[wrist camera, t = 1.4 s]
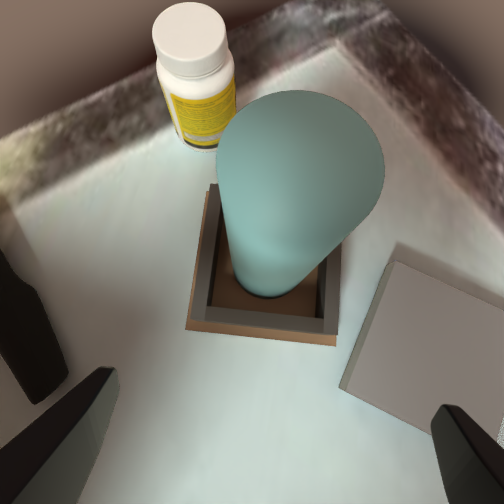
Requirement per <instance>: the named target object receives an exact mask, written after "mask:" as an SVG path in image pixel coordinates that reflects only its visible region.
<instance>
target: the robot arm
mask: <svg viewBox="0 0 504 504" xmlns="http://www.w3.org/2000/svg"><path fill="white" fill-rule="evenodd" d="M118 394H119V382H118V376H117V371H116V369H115V368H114V367H106V366H101V367H99V368H97V369H96V370H95V371H94V372H92V373H91V374H90V375H89V376H88V377H86V378H85V379H84V380H83V381H82V382H80V383H79V384H78V385H77V386H76V387H74V388H73V389H72V390H71V391H70V392H68V393H67V394H66V395H65V396H64V397H62V398H61V399H60V400H59V401H58V402H56V403H55V404H54V405H53V406H52V407H50V408H49V409H48V410H47V411H46V412H44V413H43V414H42V415H41V416H40V417H39V418H37V419H36V420H35V421H34V422H33V423H31V424H30V425H29V426H28V427H27V428H25V429H24V430H23V431H22V432H21V433H19V434H18V435H17V436H16V437H15V438H13V439H12V440H11V441H10V442H9V443H7V444H6V445H5V446H4V447H3V448H1V449H0V504H76V503H77V501H78V499H79V497H80V494H81V492H82V490H83V488H84V485H85V483H86V481H87V479H88V477H89V474H90V472H91V470H92V468H93V465H94V463H95V461H96V458H97V456H98V454H99V451H100V448H101V445H102V442H103V439H104V436H105V433H106V430H107V427H108V424H109V421H110V418H111V415H112V412H113V409H114V406H115V403H116V400H117V397H118ZM430 429H431V433H432V438H433V442H434V446H435V451H436V455H437V459H438V464H439V468H440V472H441V477H442V481H443V485H444V489H445V492H446V495H447V499H448V502H449V504H504V449H503V448H502V447H501V446H500V445H499V444H498V443H497V442H496V441H495V440H494V439H493V438H492V437H491V436H490V435H489V434H488V433H487V432H486V431H485V430H484V429H483V428H482V427H481V426H480V425H478V424H477V423H476V422H475V421H474V420H473V419H472V418H471V417H470V416H469V415H468V414H467V413H466V412H465V411H464V410H463V409H462V408H461V407H459V406H457V405H452V404H442V405H441V406H440V407H439V409H438V410H437V412H436V413H435V415H434V417H433V418H432V420H431V423H430Z"/></svg>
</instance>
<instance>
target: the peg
mask: <svg viewBox="0 0 504 504" xmlns="http://www.w3.org/2000/svg"><path fill="white" fill-rule="evenodd" d="M216 171H217V178H218V184H219V190H220V196H221V202H222V208H223V214H224V220H225V226H226V232H227V237H228V243H229V249H230V255H231V261H232V267H233V272H234V276H235V278H236V280H237V282H238V284H239V285H240V286H241V288H242V289H243V290H244V291H246V292H247V293H248V294H250V295H252V296H254V297H256V298H260V299H277V298H280V297H282V296H285V295H286V294H288V293H289V292H291V291H292V290H293V289H294V288H295V287H296V286H297V285H298V284H299V283H300V282H301V281H302V280H303V279H304V278H305V277H306V276H307V275H308V274H309V273H310V272H311V271H312V270H313V269H314V268H315V267H316V266H317V265H318V264H319V263H320V262H321V261H322V260H323V259H324V258H325V257H326V256H327V255H328V254H329V253H330V252H331V251H332V250H333V249H334V248H335V247H336V246H337V245H339V244H340V243H341V242H342V241H343V240H344V239H345V238H346V237H347V236H348V235H349V234H350V233H351V232H352V231H353V230H354V229H355V228H356V227H357V226H358V225H359V224H360V223H361V222H362V221H363V220H364V219H365V218H366V217H367V216H368V215H369V213H370V212H371V210H372V209H373V208H374V206H375V205H376V203H377V201H378V199H379V197H380V194H381V191H382V188H383V183H384V177H385V165H384V157H383V153H382V150H381V146H380V144H379V142H378V139H377V137H376V135H375V134H374V132H373V130H372V129H371V128H370V126H369V125H368V124H367V122H366V121H365V120H364V119H363V118H362V117H361V116H360V115H359V114H358V113H357V112H355V111H354V110H353V109H352V108H350V107H349V106H347V105H346V104H344V103H342V102H341V101H339V100H337V99H334V98H332V97H330V96H327V95H324V94H320V93H316V92H311V91H302V90H290V91H281V92H277V93H272V94H269V95H266V96H263V97H261V98H259V99H257V100H255V101H253V102H251V103H250V104H248V105H247V106H245V107H244V108H243V109H241V110H240V111H239V112H238V113H237V114H236V115H235V116H234V117H233V118H232V119H231V120H230V122H229V123H228V125H227V126H226V128H225V130H224V132H223V134H222V136H221V138H220V141H219V144H218V148H217V154H216Z"/></svg>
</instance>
